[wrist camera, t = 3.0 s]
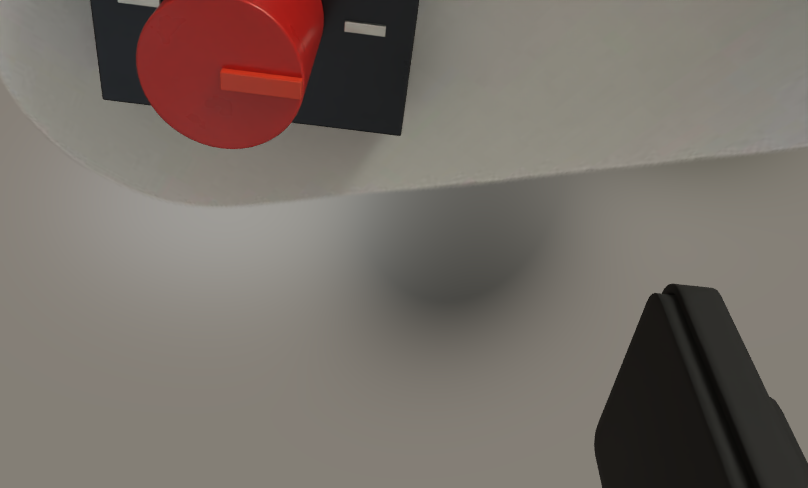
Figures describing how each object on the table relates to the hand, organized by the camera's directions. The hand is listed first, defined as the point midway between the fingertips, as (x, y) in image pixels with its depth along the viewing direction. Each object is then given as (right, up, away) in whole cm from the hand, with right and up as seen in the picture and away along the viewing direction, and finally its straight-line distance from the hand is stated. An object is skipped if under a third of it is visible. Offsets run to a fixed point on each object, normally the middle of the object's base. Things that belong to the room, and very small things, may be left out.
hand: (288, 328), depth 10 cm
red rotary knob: (-4, +9, +16) cm, 18 cm away
